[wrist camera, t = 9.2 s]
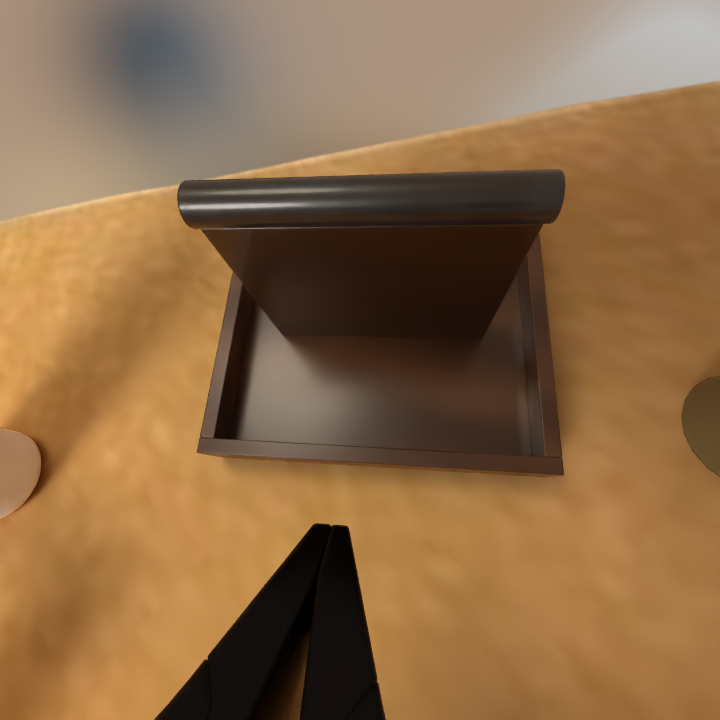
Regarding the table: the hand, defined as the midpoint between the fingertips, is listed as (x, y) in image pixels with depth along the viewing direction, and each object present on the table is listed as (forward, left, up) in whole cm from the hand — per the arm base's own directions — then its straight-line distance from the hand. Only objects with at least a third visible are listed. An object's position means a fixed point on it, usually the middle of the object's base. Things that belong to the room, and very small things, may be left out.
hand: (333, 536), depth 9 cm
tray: (+5, +9, -12) cm, 16 cm away
